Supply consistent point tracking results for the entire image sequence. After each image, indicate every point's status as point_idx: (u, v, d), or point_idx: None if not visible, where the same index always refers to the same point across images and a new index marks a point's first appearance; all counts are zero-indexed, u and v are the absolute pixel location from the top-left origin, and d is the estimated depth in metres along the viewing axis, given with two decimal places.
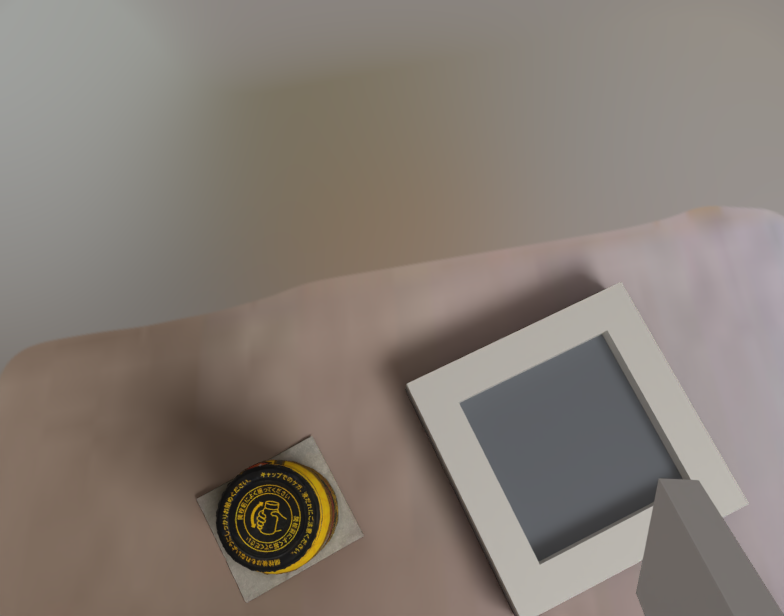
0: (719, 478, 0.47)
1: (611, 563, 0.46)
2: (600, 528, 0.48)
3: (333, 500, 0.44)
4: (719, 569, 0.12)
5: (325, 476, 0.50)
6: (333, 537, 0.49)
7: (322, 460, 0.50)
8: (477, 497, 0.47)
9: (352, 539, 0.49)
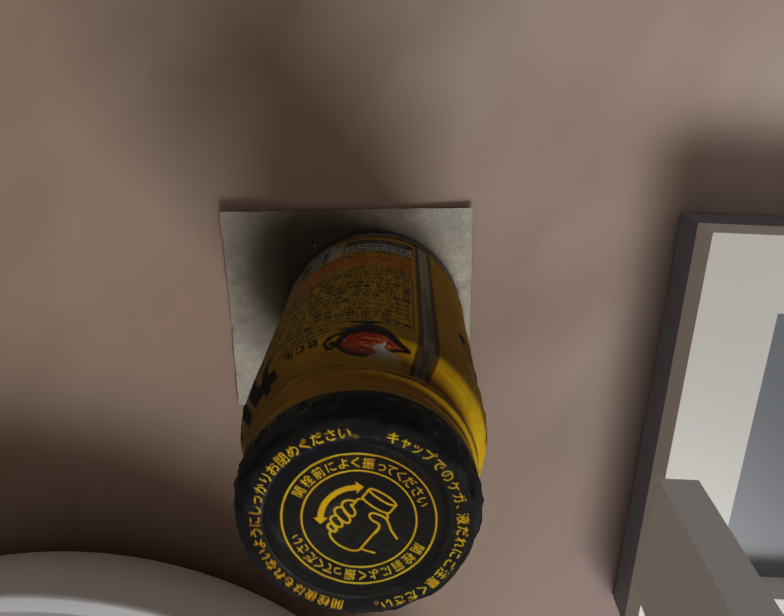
0: None
1: None
2: None
3: None
4: (719, 569, 0.12)
5: (458, 285, 0.26)
6: None
7: (468, 258, 0.26)
8: (692, 471, 0.25)
9: None
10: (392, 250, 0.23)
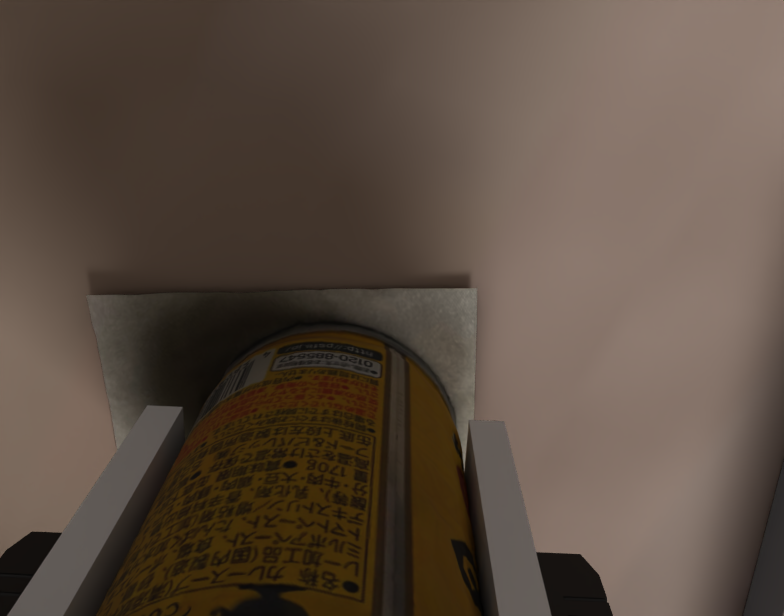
0: None
1: None
2: None
3: None
4: (489, 488, 0.14)
5: (455, 400, 0.17)
6: None
7: (470, 362, 0.17)
8: None
9: None
10: (348, 365, 0.15)
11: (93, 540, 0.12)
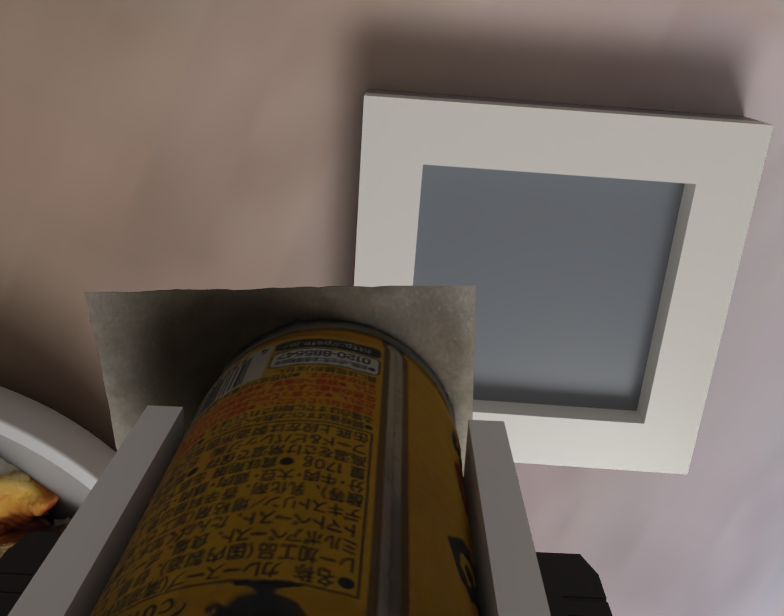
0: (679, 433, 0.34)
1: None
2: (502, 400, 0.35)
3: None
4: (488, 488, 0.14)
5: (453, 397, 0.17)
6: None
7: (468, 359, 0.17)
8: None
9: None
10: (346, 363, 0.15)
11: (93, 539, 0.12)
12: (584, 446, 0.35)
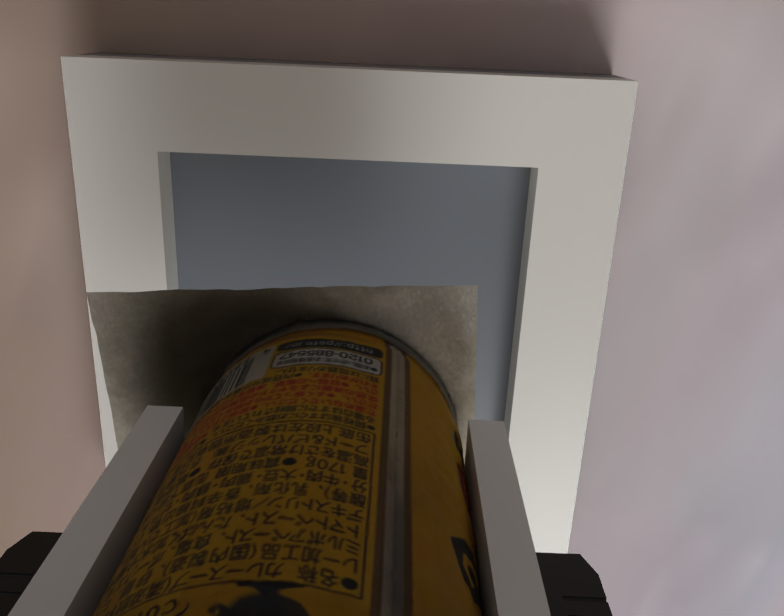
0: (550, 501, 0.26)
1: None
2: None
3: None
4: (488, 488, 0.14)
5: (455, 397, 0.17)
6: None
7: (470, 359, 0.17)
8: None
9: None
10: (348, 362, 0.15)
11: (93, 540, 0.12)
12: None
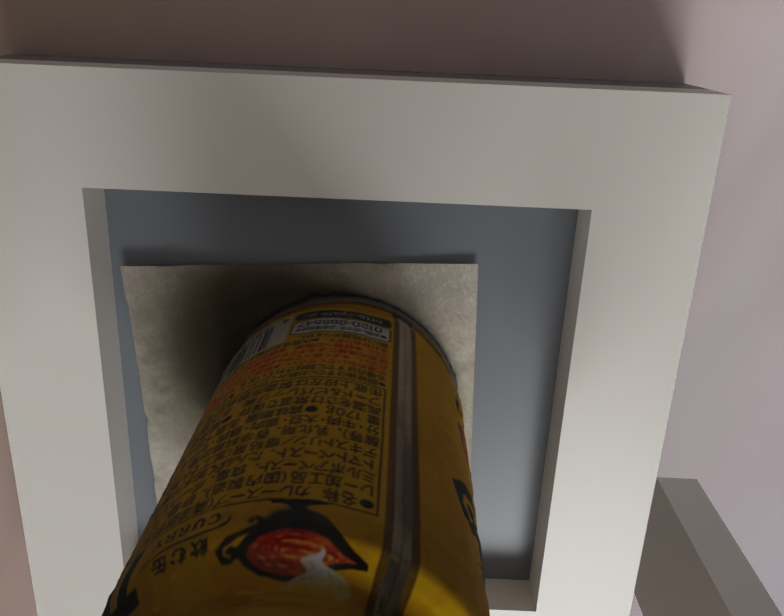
0: None
1: None
2: None
3: None
4: (716, 568, 0.12)
5: (456, 368, 0.19)
6: None
7: (470, 332, 0.18)
8: (41, 420, 0.18)
9: None
10: (360, 330, 0.16)
11: None
12: None
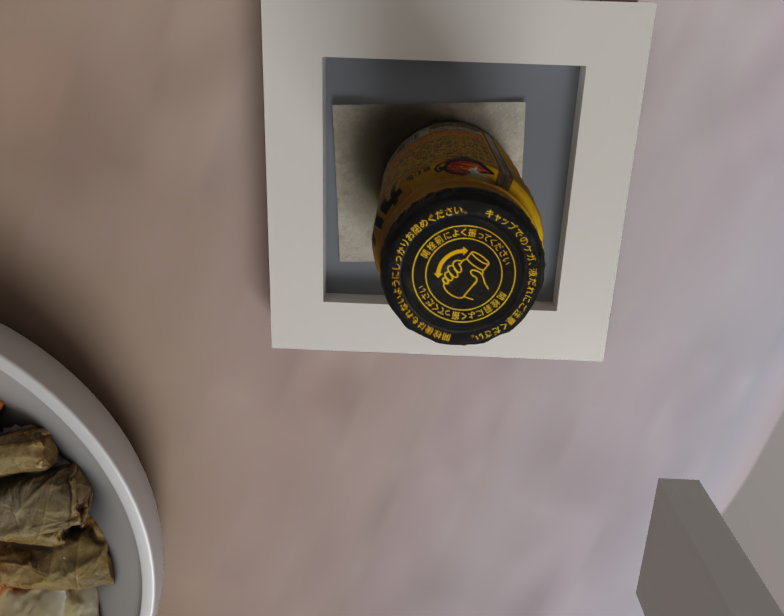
0: (591, 319, 0.35)
1: (406, 340, 0.36)
2: None
3: None
4: (719, 569, 0.12)
5: (512, 164, 0.34)
6: None
7: (520, 142, 0.33)
8: (286, 192, 0.34)
9: None
10: (466, 129, 0.31)
11: None
12: (500, 336, 0.36)
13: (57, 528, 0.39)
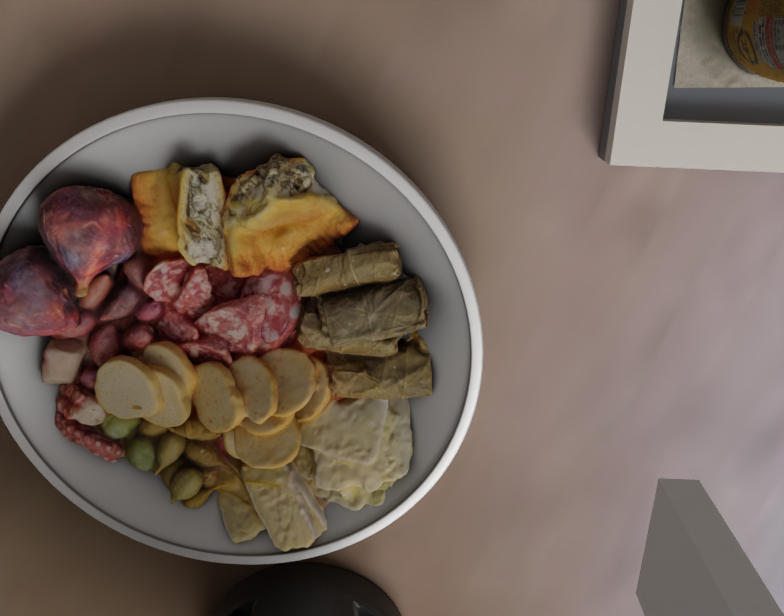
0: None
1: (728, 158, 0.42)
2: (739, 120, 0.42)
3: None
4: (719, 569, 0.12)
5: None
6: None
7: None
8: (648, 17, 0.39)
9: None
10: None
11: None
12: None
13: (404, 332, 0.44)
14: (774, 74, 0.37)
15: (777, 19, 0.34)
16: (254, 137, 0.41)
